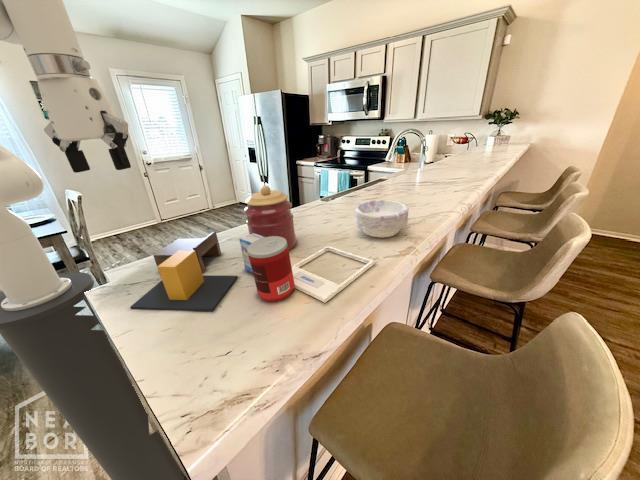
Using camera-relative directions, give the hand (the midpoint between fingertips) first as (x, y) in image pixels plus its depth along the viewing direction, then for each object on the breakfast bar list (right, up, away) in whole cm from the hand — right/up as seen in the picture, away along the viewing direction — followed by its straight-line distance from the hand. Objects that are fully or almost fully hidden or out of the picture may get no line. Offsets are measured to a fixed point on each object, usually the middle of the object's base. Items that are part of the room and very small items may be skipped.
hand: (103, 170), depth 53 cm
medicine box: (+30, -22, +10) cm, 39 cm away
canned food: (+35, -25, +2) cm, 43 cm away
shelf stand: (+10, -20, +17) cm, 28 cm away
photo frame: (+46, -22, +8) cm, 51 cm away
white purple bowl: (+63, -12, +27) cm, 69 cm away
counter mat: (+15, -26, +4) cm, 30 cm away
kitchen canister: (+31, -16, +23) cm, 42 cm away
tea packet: (+15, -25, +4) cm, 30 cm away
